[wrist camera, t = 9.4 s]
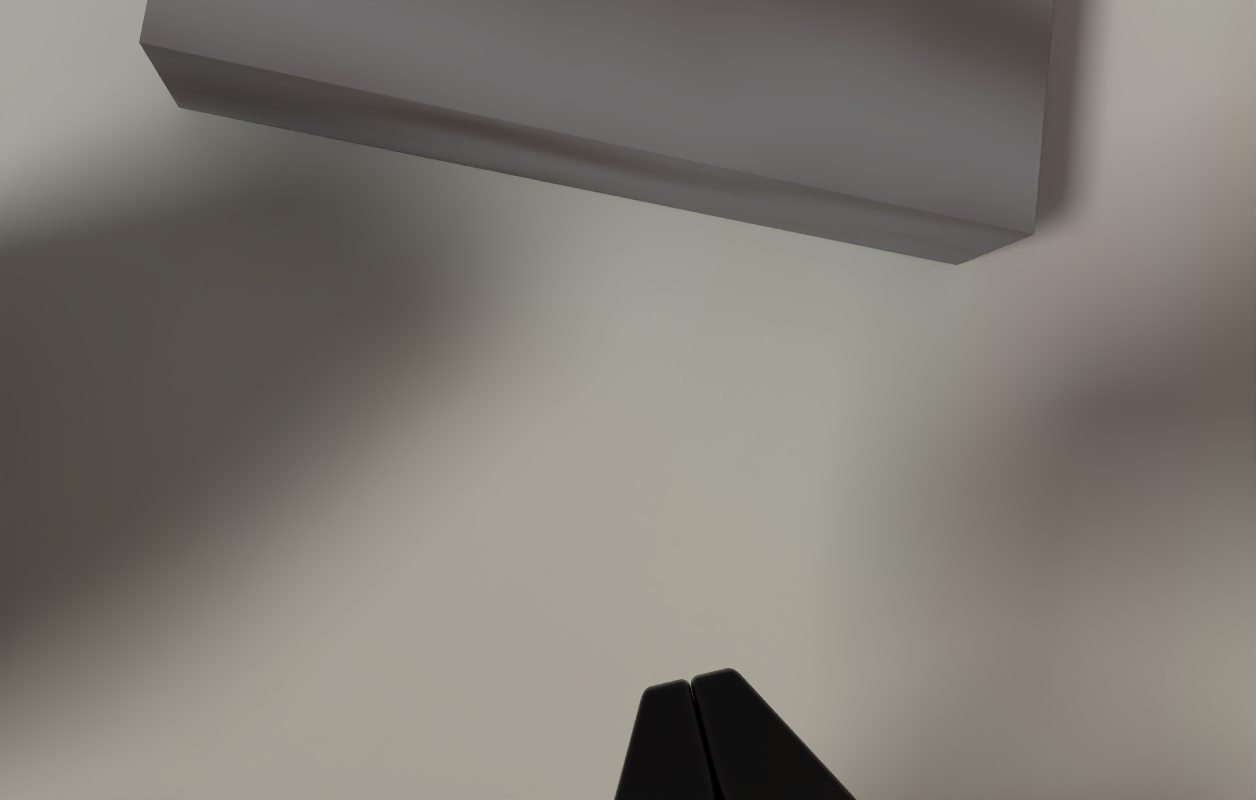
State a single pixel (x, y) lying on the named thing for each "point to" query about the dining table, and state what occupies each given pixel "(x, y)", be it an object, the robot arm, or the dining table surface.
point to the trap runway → (663, 100)
